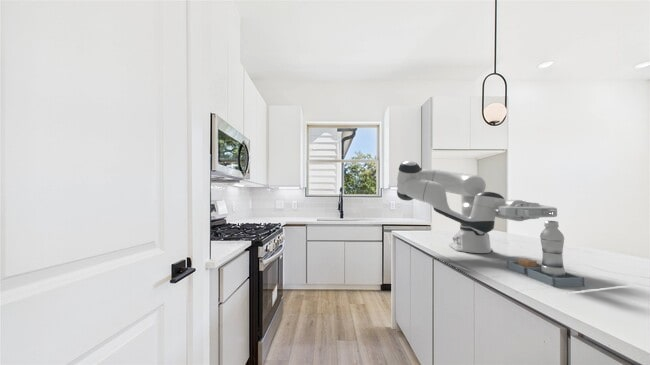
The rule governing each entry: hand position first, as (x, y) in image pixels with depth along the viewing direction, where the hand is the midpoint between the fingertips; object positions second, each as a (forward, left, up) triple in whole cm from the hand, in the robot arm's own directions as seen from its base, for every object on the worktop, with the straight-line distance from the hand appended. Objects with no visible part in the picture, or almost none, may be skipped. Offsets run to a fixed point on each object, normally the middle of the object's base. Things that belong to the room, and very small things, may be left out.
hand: (542, 213), depth 103 cm
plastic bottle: (+8, -4, -22) cm, 24 cm away
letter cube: (-3, -4, -22) cm, 23 cm away
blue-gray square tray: (-3, -4, -23) cm, 23 cm away
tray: (+9, -4, -23) cm, 25 cm away
